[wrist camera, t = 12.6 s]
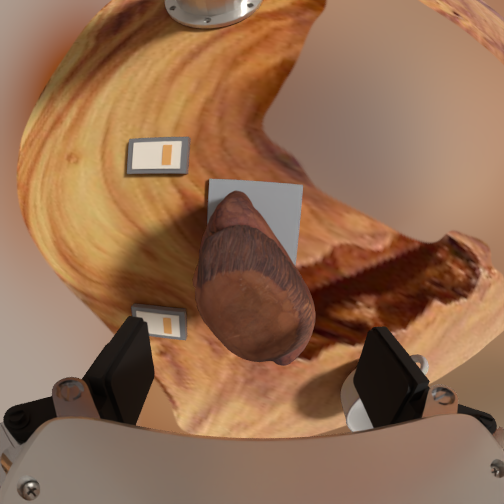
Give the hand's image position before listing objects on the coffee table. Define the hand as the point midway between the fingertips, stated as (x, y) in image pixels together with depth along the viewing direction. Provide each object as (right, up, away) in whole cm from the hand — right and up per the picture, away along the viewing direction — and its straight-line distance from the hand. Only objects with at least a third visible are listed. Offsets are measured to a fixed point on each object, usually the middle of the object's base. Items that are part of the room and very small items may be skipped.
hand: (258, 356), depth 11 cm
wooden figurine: (-1, +5, +20) cm, 20 cm away
